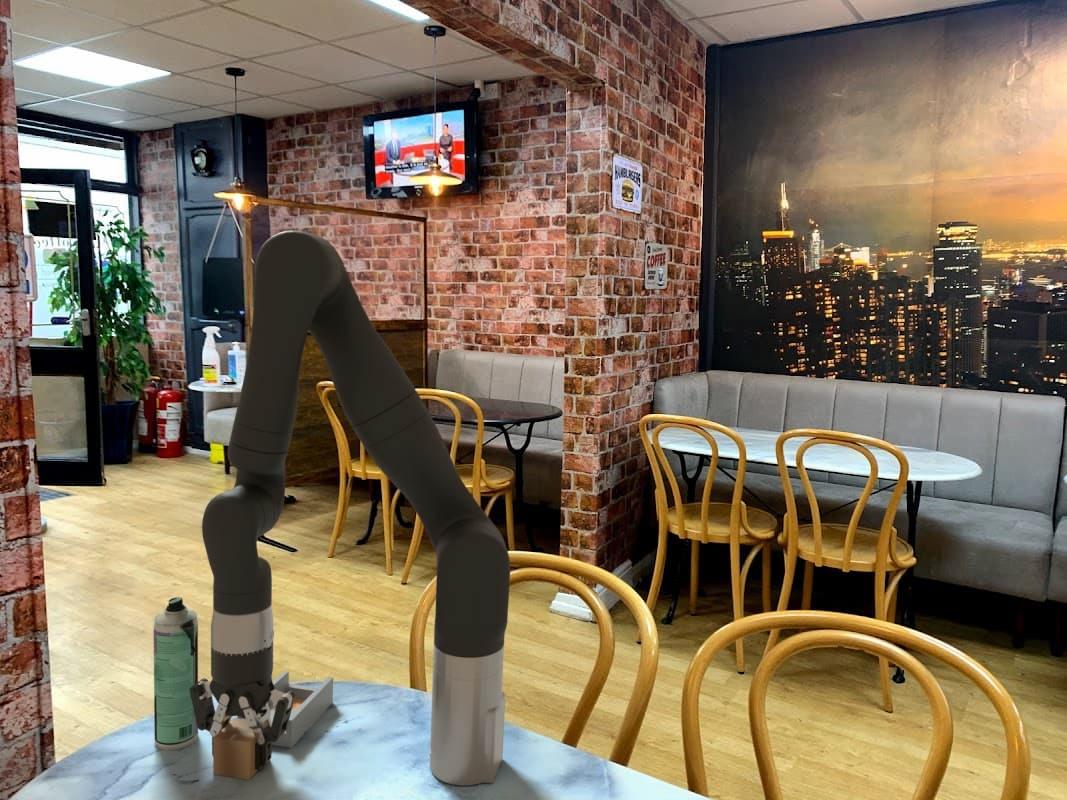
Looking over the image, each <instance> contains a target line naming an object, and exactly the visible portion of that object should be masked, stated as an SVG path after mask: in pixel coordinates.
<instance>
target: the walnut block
mask: <svg viewBox="0 0 1067 800" xmlns="http://www.w3.org/2000/svg"><path fill="white" fill-rule="evenodd" d="M256 743H257V742H256V739H255V736H254V733H253V730H252V729H250V728H249V726H248V723H247V720H246V719H239V718H237V717H234V718H233V719H232V720H230V723H229V724H228V725H226V726H225V727H224V728H223V729H222V730H221V731H220V732H219V733H218V734H217V735H215V736H214V737H213V755H212V757H213V758H212V759H213V760H212V761H213V763H212V764H213V766H212V768H213V769H212V771H213V773H212V774H213V775H214V776H215V775H217V776H222V777H223V776H224V777H229V778H234V779H240V780H241V779H242V780H248V781H249V780H251V779H252V778H253V776H254V775H255V774H256V773H257V772H258V771H259V770H256V769H255V744H256Z"/></svg>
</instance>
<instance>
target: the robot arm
mask: <svg viewBox="0 0 1067 800" xmlns="http://www.w3.org/2000/svg"><path fill="white" fill-rule="evenodd" d="M253 287H254V288H253V305H252V306H253V307H252V308H253V309H252V320H251V321H252V322H251V331H250V340H249V348H248V353H247V359H246V365H245V371H244V376H243V381H242V385H241V389H240V394H239V398H238V403H237V407H236V410H235V416H234V420H233V424H232V429H231V432H230V438H229V443H228V447H227V459H228V462H229V463H230V465H231V466H232V467H233V468H235V469H236V476H235V477H236V478H235V482H234V486H233V487H232V488H230V489H227V490H225V491H223V492H220V493H219V494H216V495H215V496H213V498H211V499H210V501H208V503H207V505H206V507H205V509H204V513H203V516H202V520H201V521H202V523H201V533H202V540H203V545H204V549H205V552H206V555H207V561H208V563H209V567H210V570H211V573H212V576H213V583H212V584H213V585H212V586H213V587H212V588H213V590H212V597H213V598H212V604H213V605H212V608H213V609H212V617H211V623H210V676H211V680H209V679H207V678H204V677H202V678H201V679H200V680H198V682H197V683H196V684H195V685H194V686H192V687H191V688H190V695H191V700H192V704H193V709H194V713H195V718H196V722H197V727H198V731H207V732H209V735H210V736H211V755H212V756H213V737H214V736H215V735H217V734H218V733H219V732H220V731H221V730H222V729H223V728H224V727H225V726H226V725H228V724H229V723H230V722H231V721H232V720H231V719H232V717H237V716H240V717H242V718H246V720H247V723H248V726H249V728H250V729H252V730H253V733H254V736H255V739H256V742H257V743H256V744H255V769H256V770H258V771H261V770H262V769H264V767H266V765H267V764H268V763H269V762H270V761H271V759H272V755H273V752H272V746H273V745H272V742H276V741H277V740H278V739H279V737H280V736H281V735H282V734H283V733H284V732H285V731H286V730H287V726H288V722H289V718H290V714H291V710H292V707H293V703H294V699H295V694H294V692H292V691H288V692H287V693H283V692H280V691H278V690H275V686H274V684H273V682H272V681H273V679H272V677H273V671H274V636H275V631H274V613H273V605H272V602H273V600H272V599H273V598H272V597H273V594H272V593H273V589H272V588H273V577H272V576H273V575H272V568H271V567H272V566H271V565H270V563H269V561H268V560H266V559H265V558H263V557H262V556H259V553H258V543H257V542H258V538H260V537H261V536H264V535H265V534H267V533H269V532H270V531H271V530H272V529H273V528H274V527H276V525H277V523H278V521H279V519H280V516H281V515H282V511H283V508H284V504H285V494H286V458H287V457H288V456H287V455H288V452H289V448H290V444H291V441H292V437H293V431H294V427H295V422H296V417H297V412H298V405H299V393H300V392H299V391H300V376H301V375H300V373H301V368H302V367H301V365H302V360H303V359H302V358H303V354H304V349H305V345H306V340H307V338H308V337H307V336H308V334H309V333H310V334H311V336H312V337H313V339H314V340H315V343H316V344H317V346H318V347H319V350H320V351H321V353H322V356H323V357H324V360H325V362H326V366H327V368H328V371H329V375H330V377H331V381H332V384H333V388H334V390H335V392H336V393H335V394H336V396H337V398H338V401H339V403H340V406H341V408H342V410H343V413H344V415H345V417H346V419H347V421H348V423H349V424H350V426H351V427H352V430H353V431H354V432H355V435H356V436H357V437H358V439H359V441H360V443H361V445H362V446H363V447H364V449H365V450H366V452H367V453H368V455H369V456H370V458H371V460H372V461H373V462H374V463H375V464H376V466H377V467H378V468H379V469H380V471H381V472H382V473H383V474H384V475H385V476H386V478H387V479H389V481H390V482H391V483H392V484H393V485H394V486H395V487H396V489H398V490H399V491H400V492H401V494H402V495H403V496H404V497H405V498H406V499H407V501H408V502H409V503H410V505H411V506H412V508H413V509H414V511H415V513H416V514H417V516H418V517H419V520H420V522H421V524H422V525H423V527H424V530H425V531H426V533H427V535H428V538H429V540H430V543H431V545H432V547H433V549H434V552H435V555H436V583H435V584H436V585H435V615H434V628H433V633H434V634H433V659H432V662H433V663H432V683H431V684H432V688H431V689H432V691H431V714H430V715H431V717H430V721H431V722H430V746H429V747H430V750H429V769H430V772H431V774H432V775H434V777H435V778H437V779H438V780H439V781H442V782H444V783H446V784H450V785H456V786H472V785H474V786H475V785H479V784H482V783H488V784H493V782H494V781H495V778H496V775H497V774H498V771H499V768H500V766H501V763H502V761H503V758H504V757H503V756H504V734H505V714H506V692H504V691H503V673H504V655H505V654H504V651H505V637H506V629H507V626H508V616H509V603H510V602H509V601H510V586H511V585H510V584H511V582H510V581H511V562H510V561H511V560H510V555H509V552H508V548H507V545H506V543H505V540H504V537H503V535H502V533H501V532H500V531H499V529H498V528H497V526H496V525H495V524H494V523H493V521H492V520H491V519H490V517H489V516H488V515H487V514H486V512H485V511H484V509H482V507H481V506H480V505H479V503H478V502H477V500H476V499H475V497H474V496H473V494H472V493H471V492H470V490H469V489H468V488H467V486H466V485H465V482H464V481H463V480H462V478H461V476H460V474H459V472H458V471H457V468H456V467H455V466H456V465H454V464H455V463H454V462H453V459H452V457H451V454H450V453H449V449H448V448H447V446H446V443H445V441H444V439H443V437H442V435H441V433H440V431H439V428H438V427H437V425H436V423H435V421H434V420H433V418H432V416H431V413H430V411H429V410H428V408H427V407H426V404H425V402H424V401H423V400H422V397H421V396H420V395H419V392H418V391H417V390H416V388H415V386H414V384H413V382H411V379H410V378H409V377H408V376H407V375H408V374H406V372H405V370H404V369H403V367H402V366H401V364H400V363H399V361H398V360H397V358H396V357H395V355H394V354H393V352H392V350H390V348H389V346H388V345H387V344H386V342H385V341H384V339H383V338H382V337H381V335H380V334H379V332H378V331H377V329H376V327H374V325H373V322H371V320H370V318H369V317H368V314H367V312H366V310H365V309H364V306H363V304H362V303H361V300H360V298H359V296H358V294H357V291H356V289H355V287H354V284H353V283H352V281H351V278H350V276H349V273H348V271H347V269H346V267H345V264H344V262H343V259H342V257H341V256H340V254H339V252H338V251H337V250H336V248H335V247H334V245H332V244H331V243H330V242H329V241H328V240H326V238H323V237H322V236H320V235H317V234H315V233H311V232H306V231H301V230H285V231H281V232H277V233H276V234H274V235H272V236H270V237H269V238H268V239H267V240H266V241H264V243H263V244H262V245H261V247H260V248H259V251H258V253H257V255H256V261H255V269H254V285H253ZM213 698H215V700H216V701H217V703H218V705H217V708H215V704H214V701H213ZM270 699H271V700H272V702H273V710H274V711H275V714H274V718H273V722H271V719H270V716H271V712H270V709H269V706H268V703H267V702H268V701H269V700H270ZM215 709H216V710H215ZM258 713H259V714H258ZM256 714H258V716H256Z"/></svg>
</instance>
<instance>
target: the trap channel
mask: <svg viewBox="0 0 1067 800" xmlns="http://www.w3.org/2000/svg"><path fill="white" fill-rule="evenodd" d="M289 673H290V671H288V670H283V671H282V672H281V673H279V675H277V676H276V678H274V679H272V682H273V684H274V686H275V690H278V691H280V692H283V693H287V692H288V691H292V692H294V694H295V699H294V703H293V707H292V710H291V714H290V718H289V722H288V726H287V730H286V731H285V732H284V733H283V734H282V735H281V736H280V737H279V739H278V740H277V741H276V742H272V746H277V747H284V748H289V749H292V748H293V747H294V746H295V745H296V744H297V743H298V741H299V740H300V739H301V738H302V737H303V736H304V735H305V734H306V733H307V732H308V731H309V729H310V728H311V727H312V726H313V725H314V724H315V723H316V721H318V720H319V718H320V717H321V716H322V715H323V714H324V712H325V711H327V709H328V708H330V706H331V705H332V704H333V701H334V677H330V676H327V677H326V679H325V680H323V682H321V684H319V686H318V687H314V686H307V685H299V684H293V683H290V681H289V680H290V674H289ZM267 703H268V706H269V709H270V712H271V716H270V719H271V722H273V718H274V714H275V711H274V710H273V702H272V700H271V699H270V700H269V701H268V702H267ZM258 714H259V713H258ZM258 714H256V716H258ZM236 718H239V719H246V718H242V717H240V716H236ZM305 732H306V733H305ZM304 733H305V734H304Z"/></svg>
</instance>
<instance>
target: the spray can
mask: <svg viewBox="0 0 1067 800" xmlns="http://www.w3.org/2000/svg"><path fill="white" fill-rule="evenodd" d="M198 627H199V619H198V614H197V612H196V611H194V610H192V609H188V606H187V605H185V604H184V600H183V597H180V596H179V597H172V598H170V599H169V600H168V605H167V606H166V607H165V608H164V611H162V612H161V613H159V614H157V615H156V616H154V622H153V694H154V695H153V697H154V698H153V704H154V705H153V706H154V710H153V712H154V713H153V714H154V721H153V723H154V745H155V746H156V747H157V748H159V749H161V750H165V751H166V750H167V751H173V750H179V749H183V748H185V747H188V746H190V745H192V744H193V743H195V742H196V741H197V740H198V737H199V729H198V727H197V722H196V718H195V713H194V709H193V704H192V700H191V695H190V688H191V687H192V686H194V685H195V684H196V683H197V682H199V644H198V643H199V630H198V629H199V628H198Z"/></svg>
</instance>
